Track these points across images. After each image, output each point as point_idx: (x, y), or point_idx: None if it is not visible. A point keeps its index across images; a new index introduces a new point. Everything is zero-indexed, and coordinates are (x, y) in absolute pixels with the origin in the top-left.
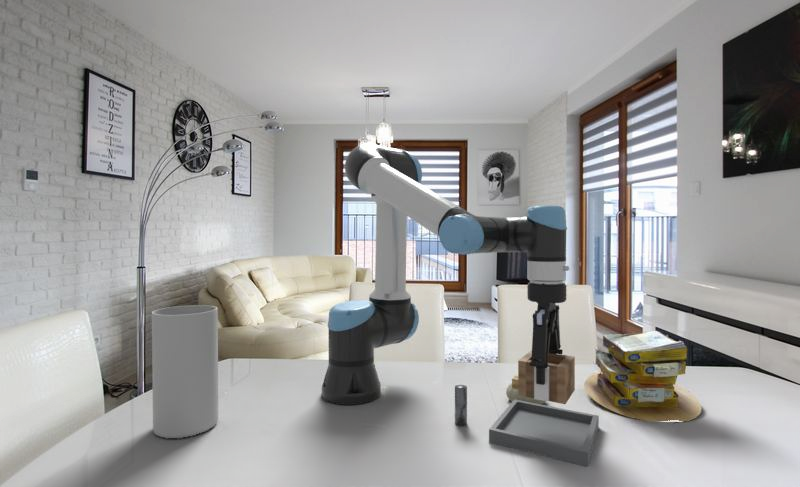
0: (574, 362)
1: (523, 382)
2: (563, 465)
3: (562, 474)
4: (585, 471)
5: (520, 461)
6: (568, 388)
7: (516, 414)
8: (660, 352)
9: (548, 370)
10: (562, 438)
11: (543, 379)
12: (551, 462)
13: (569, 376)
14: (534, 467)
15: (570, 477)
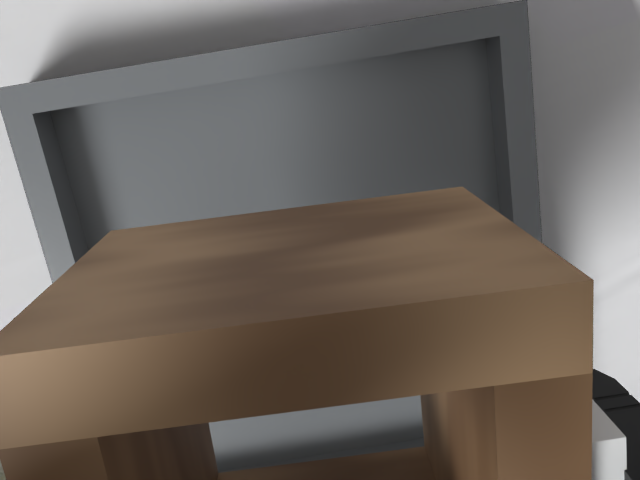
0: (14, 323)
1: None
2: (550, 102)
3: (629, 79)
4: (548, 3)
5: (618, 259)
6: (358, 221)
7: (231, 453)
8: None
9: (602, 419)
10: (349, 181)
11: (628, 396)
12: (554, 153)
13: (317, 256)
14: (635, 194)
15: (636, 43)
